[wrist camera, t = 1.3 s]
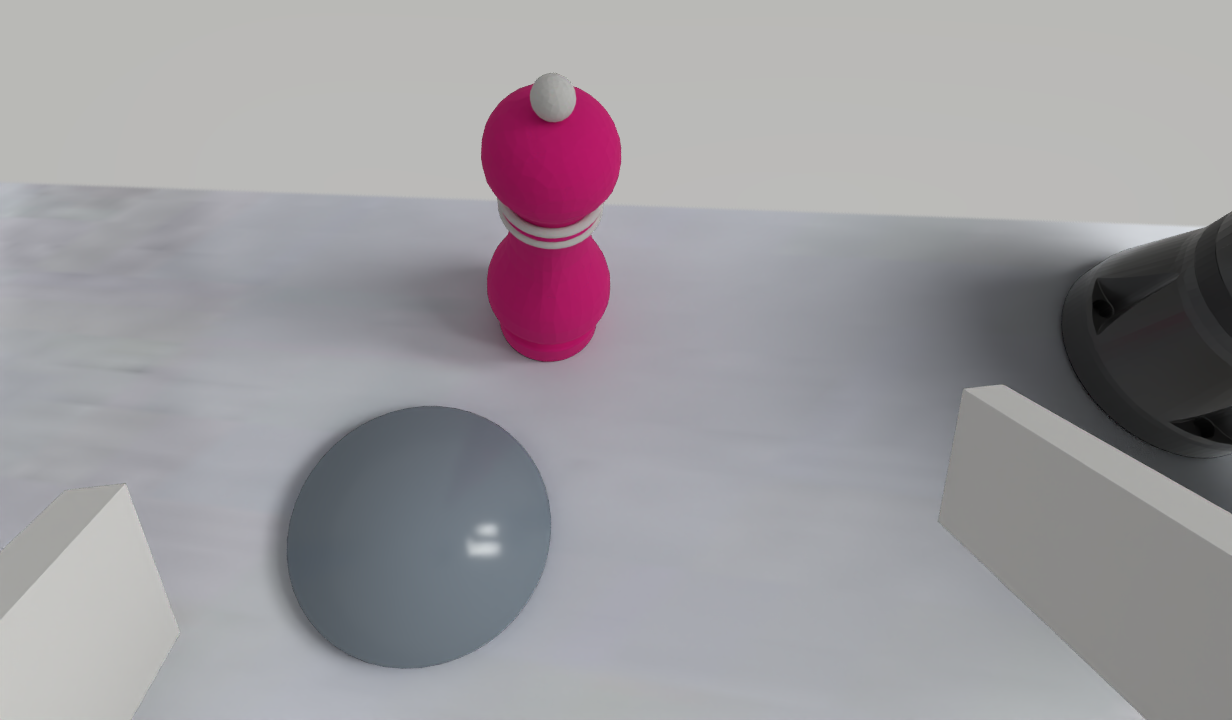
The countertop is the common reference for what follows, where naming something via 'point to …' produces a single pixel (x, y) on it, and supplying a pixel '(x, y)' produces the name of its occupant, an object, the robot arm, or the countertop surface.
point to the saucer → (419, 537)
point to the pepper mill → (549, 215)
